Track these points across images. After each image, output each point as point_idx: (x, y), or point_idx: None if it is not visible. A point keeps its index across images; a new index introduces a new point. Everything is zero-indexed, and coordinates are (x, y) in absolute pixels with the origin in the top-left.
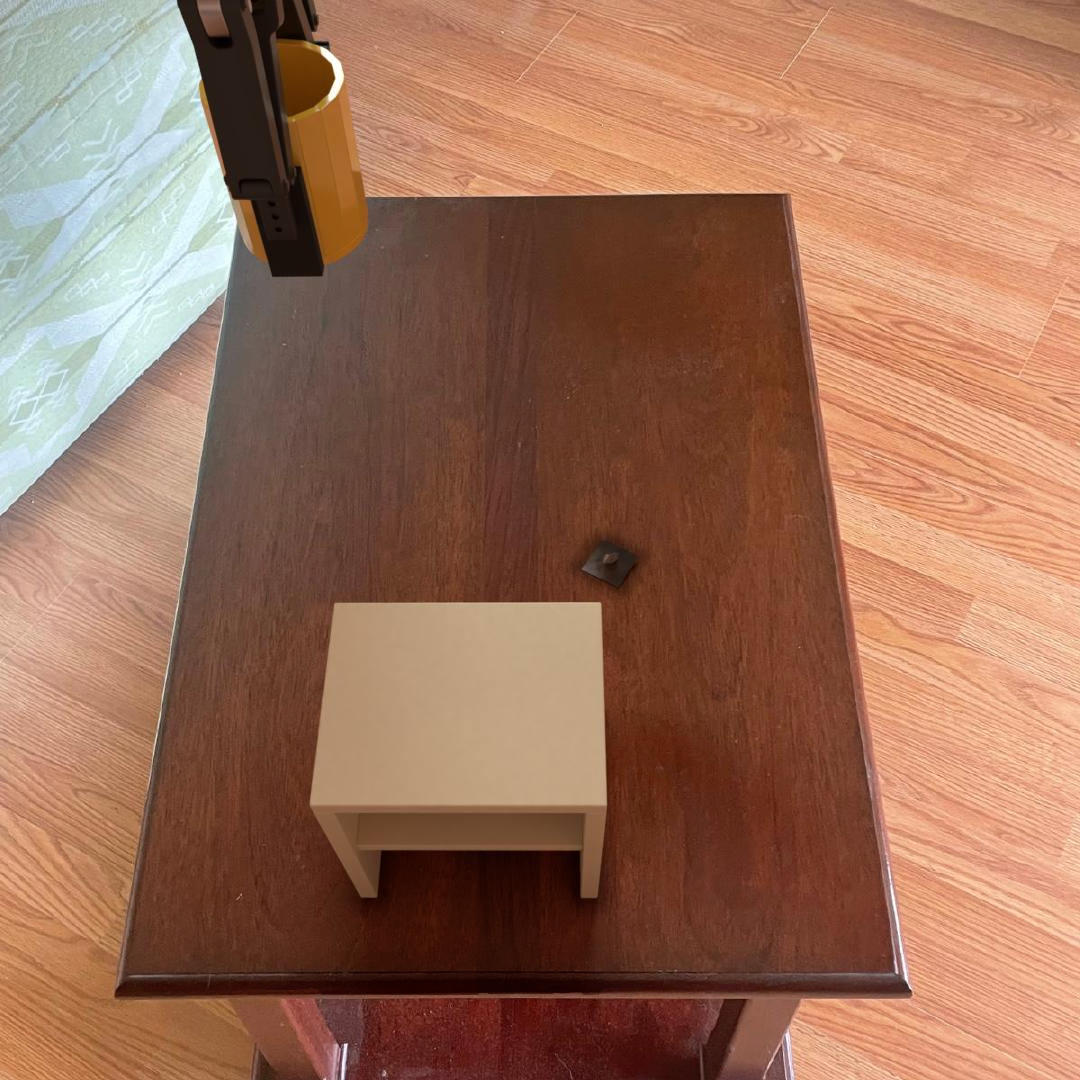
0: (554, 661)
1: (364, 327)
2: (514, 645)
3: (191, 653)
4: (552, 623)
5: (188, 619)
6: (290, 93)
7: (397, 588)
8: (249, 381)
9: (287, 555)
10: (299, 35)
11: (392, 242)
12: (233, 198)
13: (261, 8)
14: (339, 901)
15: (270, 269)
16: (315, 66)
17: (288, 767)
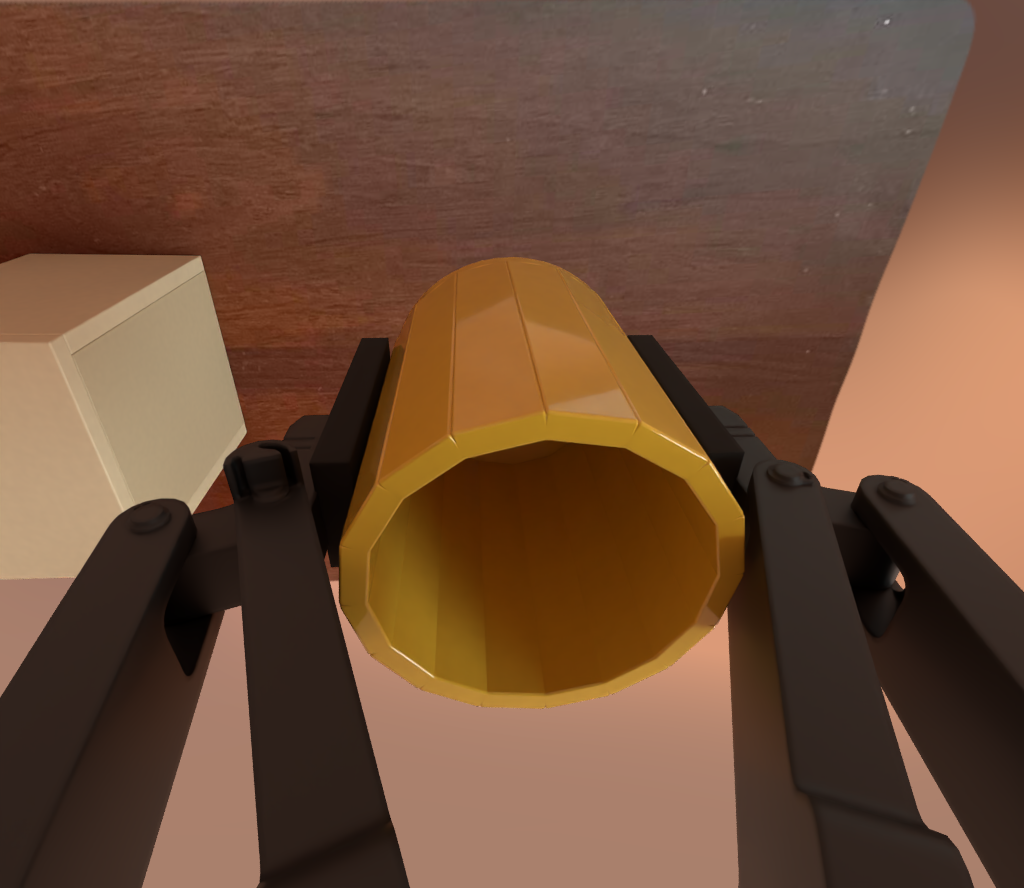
0: (70, 544)
1: (711, 201)
2: (72, 515)
3: (234, 19)
4: None
5: (279, 6)
6: (666, 487)
7: (354, 265)
8: (649, 44)
9: (383, 134)
10: (732, 623)
11: (841, 226)
12: (123, 513)
13: (759, 668)
14: (18, 233)
15: (359, 345)
16: (655, 609)
17: (130, 166)
